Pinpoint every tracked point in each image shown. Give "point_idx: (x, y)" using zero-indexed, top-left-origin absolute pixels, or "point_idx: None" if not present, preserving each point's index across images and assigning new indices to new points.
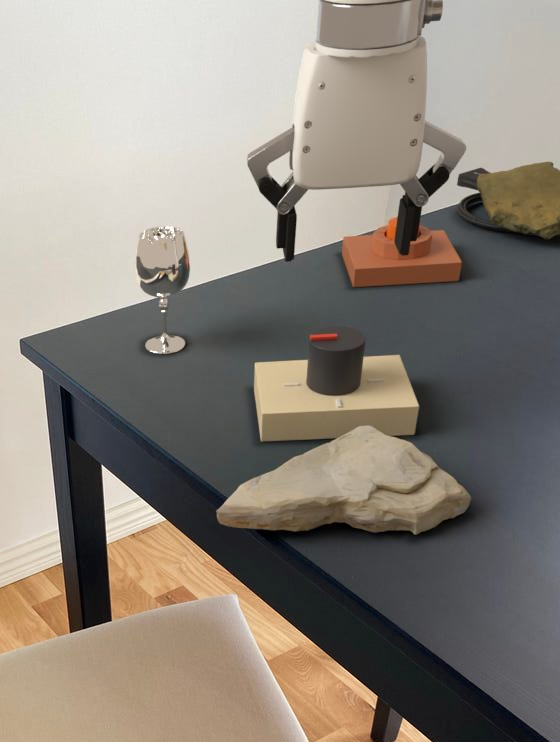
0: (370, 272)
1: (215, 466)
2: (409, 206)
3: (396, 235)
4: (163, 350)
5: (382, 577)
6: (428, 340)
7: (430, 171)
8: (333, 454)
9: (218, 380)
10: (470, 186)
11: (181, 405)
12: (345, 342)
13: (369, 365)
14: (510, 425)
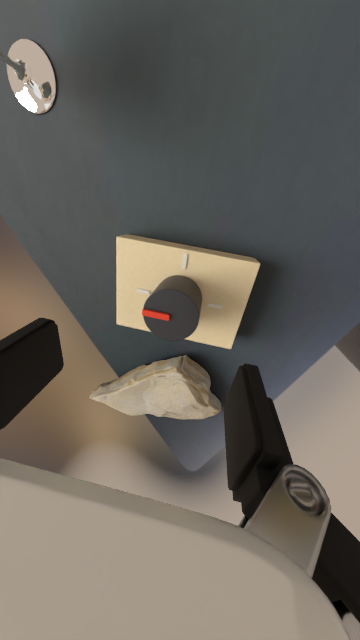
0: None
1: (97, 330)
2: (239, 496)
3: (238, 385)
4: (32, 106)
5: (165, 421)
6: (348, 162)
7: (357, 611)
8: (152, 385)
9: (97, 204)
10: None
11: (68, 244)
12: (175, 327)
13: (221, 276)
14: (301, 344)
